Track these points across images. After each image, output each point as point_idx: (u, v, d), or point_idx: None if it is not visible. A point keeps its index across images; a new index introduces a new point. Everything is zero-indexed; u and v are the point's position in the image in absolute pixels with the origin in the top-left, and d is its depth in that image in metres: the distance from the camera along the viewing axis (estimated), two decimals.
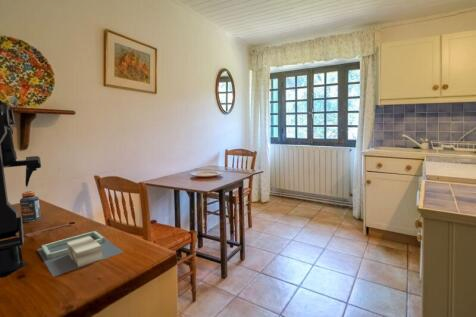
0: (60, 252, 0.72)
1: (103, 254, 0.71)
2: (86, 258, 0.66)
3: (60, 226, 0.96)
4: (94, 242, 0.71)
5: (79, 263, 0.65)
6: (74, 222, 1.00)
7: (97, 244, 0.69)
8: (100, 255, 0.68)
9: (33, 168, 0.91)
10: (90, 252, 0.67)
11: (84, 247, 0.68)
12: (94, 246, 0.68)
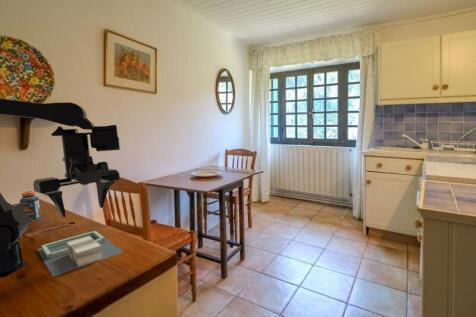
0: (60, 252, 0.72)
1: (103, 254, 0.71)
2: (86, 258, 0.66)
3: (60, 226, 0.96)
4: (94, 242, 0.71)
5: (79, 263, 0.65)
6: (74, 222, 1.00)
7: (97, 244, 0.69)
8: (100, 255, 0.68)
9: None
10: (90, 252, 0.67)
11: (84, 247, 0.68)
12: (94, 246, 0.68)
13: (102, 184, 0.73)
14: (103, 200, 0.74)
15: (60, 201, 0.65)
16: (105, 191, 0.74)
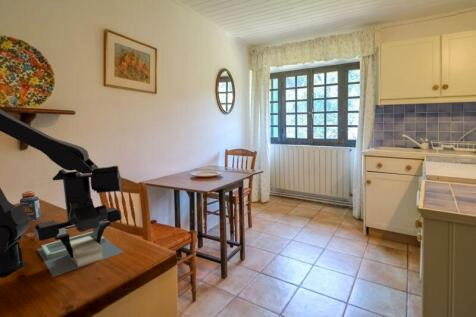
0: (60, 252, 0.72)
1: (103, 254, 0.71)
2: (86, 258, 0.66)
3: None
4: (94, 242, 0.71)
5: (79, 263, 0.65)
6: None
7: (97, 244, 0.69)
8: (100, 255, 0.68)
9: None
10: (90, 252, 0.67)
11: (84, 247, 0.68)
12: (94, 246, 0.68)
13: None
14: None
15: (67, 243, 0.67)
16: (100, 233, 0.72)
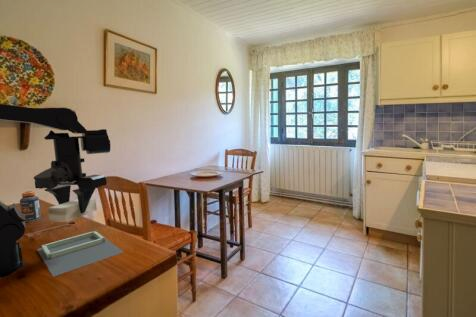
0: (60, 252, 0.72)
1: (103, 254, 0.71)
2: (55, 215, 0.69)
3: (60, 226, 0.96)
4: (75, 204, 0.71)
5: (50, 218, 0.70)
6: (74, 222, 1.00)
7: (69, 206, 0.69)
8: (65, 218, 0.68)
9: None
10: (57, 211, 0.69)
11: (61, 206, 0.71)
12: (63, 207, 0.69)
13: None
14: (80, 206, 0.72)
15: (57, 198, 0.73)
16: (79, 198, 0.71)
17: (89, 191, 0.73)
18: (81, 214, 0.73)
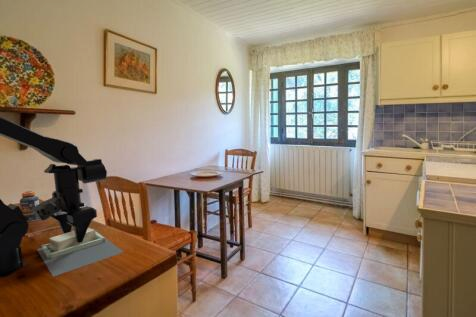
0: (60, 252, 0.72)
1: (103, 254, 0.71)
2: (53, 246, 0.74)
3: None
4: (71, 237, 0.75)
5: (50, 247, 0.75)
6: None
7: (63, 239, 0.73)
8: (58, 250, 0.72)
9: None
10: (53, 243, 0.74)
11: (60, 237, 0.75)
12: (58, 240, 0.73)
13: None
14: (76, 236, 0.74)
15: (60, 224, 0.79)
16: (74, 229, 0.73)
17: (85, 222, 0.75)
18: None
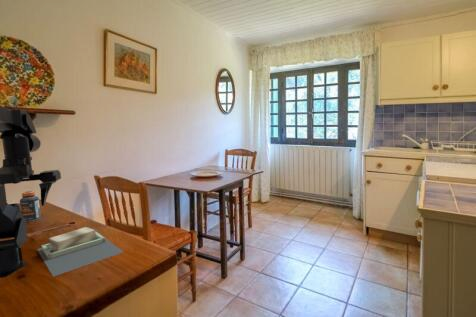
0: (60, 252, 0.72)
1: (103, 254, 0.71)
2: (53, 246, 0.74)
3: (60, 226, 0.96)
4: (71, 237, 0.75)
5: (50, 247, 0.75)
6: (74, 222, 1.00)
7: (63, 239, 0.73)
8: (58, 250, 0.72)
9: None
10: (53, 243, 0.74)
11: (60, 237, 0.75)
12: (58, 240, 0.73)
13: None
14: (42, 199, 0.79)
15: None
16: (43, 191, 0.78)
17: (48, 185, 0.81)
18: None
